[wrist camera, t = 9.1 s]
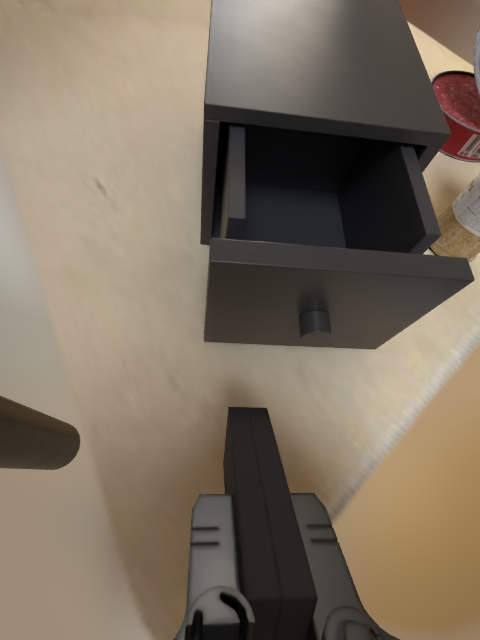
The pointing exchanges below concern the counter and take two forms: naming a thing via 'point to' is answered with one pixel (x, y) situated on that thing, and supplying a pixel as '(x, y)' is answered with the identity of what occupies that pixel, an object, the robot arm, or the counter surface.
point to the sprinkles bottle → (461, 225)
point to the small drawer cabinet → (314, 79)
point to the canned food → (461, 109)
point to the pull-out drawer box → (322, 241)
